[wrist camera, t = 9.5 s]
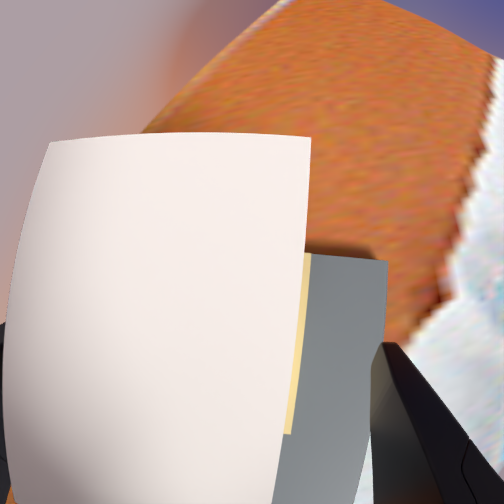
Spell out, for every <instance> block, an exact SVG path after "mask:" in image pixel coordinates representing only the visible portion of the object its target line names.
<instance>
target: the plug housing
mask: <svg viewBox="0 0 504 504" xmlns="http://www.w3.org/2000/svg"><path fill="white" fill-rule="evenodd" d="M310 150H311V138H310V137H298V136H285V135H269V134H249V133H206V132H192V133H150V134H130V135H114V136H102V137H91V138H81V139H73V140H72V139H71V140H63V141H55V142H50V143H49V145H48V148H47V151H46V153H45V156H44V159H43V161H42V164H41V167H40V170H39V173H38V176H37V179H36V182H35V185H34V188H33V191H32V195H31V198H30V201H29V204H28V208H27V212H26V216H25V219H24V223H23V227H22V231H21V235H20V239H19V244H18V248H17V253H16V257H15V262H14V268H13V273H12V279H11V285H10V291H9V298H8V306H7V314H6V324H5V335H4V349H3V380H2V389H3V419H4V433H5V444H6V453H7V461H8V468H9V474H10V480H11V486H12V491H13V496H14V501H15V502H16V503H18V504H271V503H272V498H273V492H274V487H275V481H276V475H277V469H278V463H279V457H280V451H281V445H282V438H283V432H284V425H285V418H286V411H287V404H288V397H289V390H290V382H291V374H292V366H293V358H294V350H295V341H296V332H297V323H298V313H299V304H300V293H301V283H302V272H303V260H304V248H305V235H306V221H307V206H308V189H309V171H310Z"/></svg>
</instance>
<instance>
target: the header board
mask: <svg viewBox="0 0 504 504" xmlns="http://www.w3.org/2000/svg"><path fill="white" fill-rule="evenodd" d="M387 282H388V261H383V260H373V259H362V258H351V257H341V256H330V255H319V254H311V253H304V260H303V272H302V283H301V293H300V304H299V313H298V323H297V332H296V341H295V350H294V358H293V366H292V374H291V382H290V390H289V397H288V404H287V411H286V418H285V425H284V432H283V438H282V445H281V451H280V457H279V463H278V469H277V475H276V481H275V487H274V492H273V498H272V503H271V504H353V503H354V499H355V495H356V492H357V488H358V484H359V480H360V476H361V472H362V468H363V464H364V459H365V455H366V450H367V445H368V441H369V436H370V386H371V364H372V361H373V359H374V356H375V354H376V351H377V349H378V346H379V345H380V343H381V342H383V340H384V329H385V316H386V301H387Z"/></svg>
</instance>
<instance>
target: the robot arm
mask: <svg viewBox="0 0 504 504" xmlns="http://www.w3.org/2000/svg"><path fill="white" fill-rule="evenodd" d="M5 324H6V322H4V323H3V324H1V325H0V504H6V500H7V496H8V493H9V489H10V486H11V480H10V474H9V468H8V461H7V453H6V444H5V433H4V419H3V389H2V380H3V349H4V335H5ZM370 434H371V449H372V468H373V500H374V504H504V481H503V480H502V479H501V478H500V476H499V475H498V474H497V473H496V472H495V470H494V469H493V468H492V467H491V466H490V464H489V463H488V462H487V460H486V459H485V458H484V456H483V455H482V454H481V452H480V451H479V450H478V448H477V447H476V446H475V444H474V443H473V441H472V440H471V439H469V436H468V435H467V433H466V432H465V431H464V429H463V428H462V427H461V425H460V424H459V422H458V421H457V420H456V418H455V417H454V416H453V414H452V413H451V412H450V410H449V409H448V408H447V406H446V405H445V404H444V402H443V401H442V400H441V399H440V397H439V396H438V395H437V393H436V392H435V391H434V389H433V388H432V387H431V386H430V384H429V383H428V382H427V380H426V379H425V378H424V377H423V375H422V374H421V373H420V371H419V370H418V369H417V368H416V366H415V365H414V364H413V363H412V361H411V360H410V359H409V358H408V356H407V355H406V354H405V353H404V351H403V350H402V349H401V348H400V346H399V345H398V344H397V343H395V342H381V343H380V345H379V346H378V349H377V351H376V354H375V356H374V359H373V361H372V364H371V386H370Z"/></svg>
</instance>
